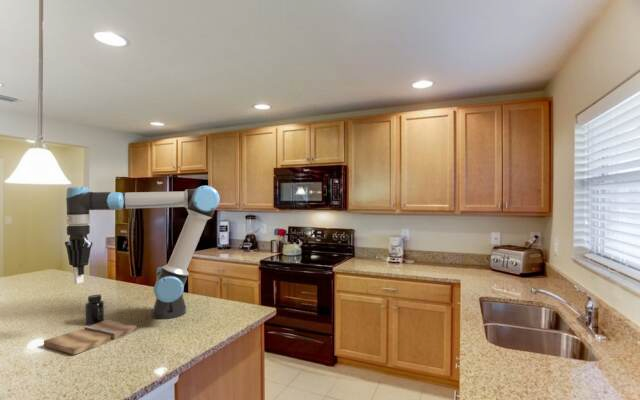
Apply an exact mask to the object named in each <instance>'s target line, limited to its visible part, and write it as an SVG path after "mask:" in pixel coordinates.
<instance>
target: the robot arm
mask: <svg viewBox="0 0 640 400" xmlns="http://www.w3.org/2000/svg"><path fill="white" fill-rule="evenodd" d="M65 201H66V203H65V204H66V225H67V226H66V235H67V236H69V238H68V239H69V240H68V241H65V242H64V246H65V248H66V251H67V258H68V264H69V266H72V268H73V281H74V282H73V283H74V284H78V285H79V284H80V283H81V284H82V283H84V282H85V280H84V278H85V277H84V274H85V266H88V265H89V262H90V261H89V260H90V255H91V249H92V247H93V245H94V244H93V242H92V241H91V242H90V241H89V238H88V235H89V234H90V233H91V232H90V231H91V230H90V229H91V228H90V227H91V226H90V225H89V224H91V220H90V218H91V217H90V216H91V215H90V211H116V210H117V211H118V210H119V211H120V210H125V209H128V210H129V209H153V208H154V209H156V208H160V209H161V208H182V207H183V208H185V209H186V211H187V213H188V215H187V217H186V219H185V222H184V224H183V227H182V229H181V232H180V233H179V236H178V238H177V241H176V244H175V246H174V248H173V250H172V254H171V255H170V258H169V260H168V263H167V264H165V265H163V266H159V267H157V268H156V273H155V274H156V281H155V284H154V287H153V292H154V296H155V297H156V298H155V302H154V305H153V308H152V311H151V317H152V318H155V319H161V320H165V319H166V320H167V319H173V318H174V319H175V318H177V317H181V316H183V315H185V314H186V313H187V305H186V303H185V299H184V291H185V290H184V289H185V284H186V282H187V279H188V277H189V275H190V273H189V271H188V268H189V265H190V263H191V260H192V258H193V256H194V254H195V251H196V249H197V246H198V244H199V242H200V238H201V236H202V234H203V231H204V229H205V226H206V225H207V222H208V220H210V219H212V218H213V216H214V214H215V211H216V209H217V208H218V206H219V204H220V202H221V199H220V194H219V192H218V191H217V189H215V188H214V187H213V186H210V185H201V186H199V187H197V188H191V189H189V188H188V189H187V188H186V189H185V190H184V191H148V192H147V191H144V192H143V191H140V192H137V191H135V192H133V191H132V192H121V191H120V192H117V191H96V192H94V191H90V188H89V187H87V186H86V187H85V186H84V187H83V186H71V187H68V188H67V189H66V198H65Z"/></svg>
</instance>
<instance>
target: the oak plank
mask: <svg viewBox="0 0 640 400" xmlns="http://www.w3.org/2000/svg"><path fill="white" fill-rule="evenodd" d="M111 341H112V339H111V336H109V335H105V334H101V333H97V332H93V331H88V330H84V329H83V328H80V329H76V330H73V331H69V332H67V333H64V334H61V335H57V336H53V337H51V338H48V339H44V340H43V347H45V348H50V349H53V350H56V351H60V352H62V353H63V352H64V353H66V354H70V355H77V354H81V353H83V352H86V351H89V350H91V349H93V348H96V347H98V346H102V345H104V344H106V343H109V342H111Z"/></svg>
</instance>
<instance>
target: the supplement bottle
mask: <svg viewBox="0 0 640 400" xmlns="http://www.w3.org/2000/svg"><path fill="white" fill-rule="evenodd" d="M104 305H105V302H104V301H103V300H102V294H92V295H89V296H88V297H87V303H86V304H85V308H84V309H85V313H84V314H85V319H84V321H85V326H91V325H93V324H96V323H99V322H102V321H105V306H104Z"/></svg>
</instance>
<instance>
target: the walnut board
mask: <svg viewBox="0 0 640 400" xmlns="http://www.w3.org/2000/svg"><path fill="white" fill-rule="evenodd" d="M84 330H88V331H93V332H97V333H101V334H105V335H109V336H111V340H113V341H115V340H117V339H120V338H122V337H125V336H126V335H127V336H128V335H129V334H133V333H134V332H136V331H137V330H138V329H137V325H133V324H130V323H125V322H120V321H116V320H111V319H106V320H105V319H104V321H102V322H99V323H96V324H93V325H85V326H84Z"/></svg>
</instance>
